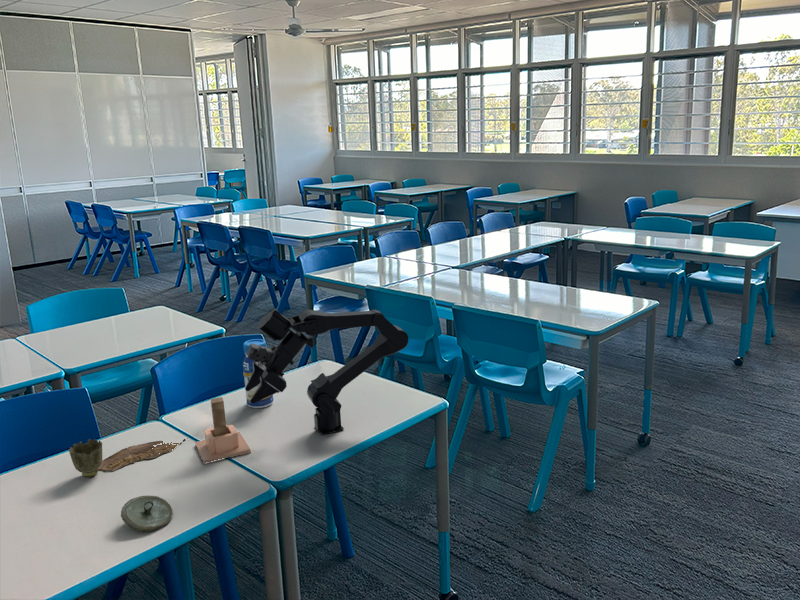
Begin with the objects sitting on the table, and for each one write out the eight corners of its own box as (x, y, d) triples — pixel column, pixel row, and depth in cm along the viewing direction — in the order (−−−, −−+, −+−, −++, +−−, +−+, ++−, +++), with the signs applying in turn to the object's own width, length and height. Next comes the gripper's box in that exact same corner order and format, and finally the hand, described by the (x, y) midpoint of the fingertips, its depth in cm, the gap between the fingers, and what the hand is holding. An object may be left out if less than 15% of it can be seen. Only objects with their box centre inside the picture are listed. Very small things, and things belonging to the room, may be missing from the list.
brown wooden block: (227, 442, 176) (222, 397, 173) (228, 446, 173) (223, 401, 170) (215, 444, 175) (210, 399, 172) (216, 449, 172) (211, 403, 169)
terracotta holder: (239, 435, 182) (238, 418, 181) (250, 452, 172) (249, 435, 171) (195, 445, 177) (193, 428, 176) (204, 464, 167) (201, 446, 166)
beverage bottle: (271, 396, 209) (266, 336, 204) (276, 406, 201) (270, 344, 196) (244, 400, 206) (238, 340, 201) (248, 411, 198) (242, 348, 193)
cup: (74, 485, 159) (69, 455, 157) (73, 472, 165) (68, 443, 163) (107, 477, 162) (103, 448, 160) (105, 465, 168) (100, 436, 166)
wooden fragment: (96, 478, 163) (95, 474, 162) (85, 462, 171) (85, 458, 171) (197, 446, 178) (197, 442, 177) (183, 433, 186) (183, 429, 186)
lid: (146, 504, 149) (144, 484, 148) (183, 511, 146) (180, 491, 145) (112, 530, 140) (109, 510, 139) (150, 539, 136) (147, 517, 135)
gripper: (257, 324, 180) (220, 368, 179) (269, 342, 163) (228, 391, 162) (288, 347, 185) (252, 390, 184) (303, 367, 168) (263, 415, 167)
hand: (248, 396), depth 174 cm, fingers open, 9 cm apart
